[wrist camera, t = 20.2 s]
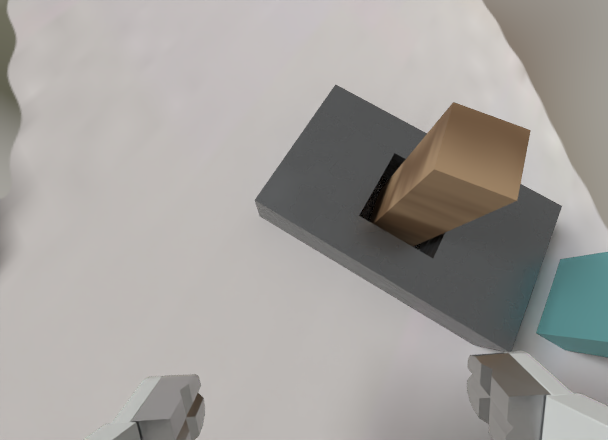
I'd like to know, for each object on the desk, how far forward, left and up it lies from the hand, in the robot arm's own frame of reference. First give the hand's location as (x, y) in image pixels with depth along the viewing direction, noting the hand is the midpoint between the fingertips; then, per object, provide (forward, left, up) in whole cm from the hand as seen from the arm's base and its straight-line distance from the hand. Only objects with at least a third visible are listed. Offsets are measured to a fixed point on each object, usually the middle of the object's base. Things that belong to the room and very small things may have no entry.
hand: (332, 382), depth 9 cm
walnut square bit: (+12, -2, -14) cm, 19 cm away
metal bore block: (+12, -2, -14) cm, 19 cm away
